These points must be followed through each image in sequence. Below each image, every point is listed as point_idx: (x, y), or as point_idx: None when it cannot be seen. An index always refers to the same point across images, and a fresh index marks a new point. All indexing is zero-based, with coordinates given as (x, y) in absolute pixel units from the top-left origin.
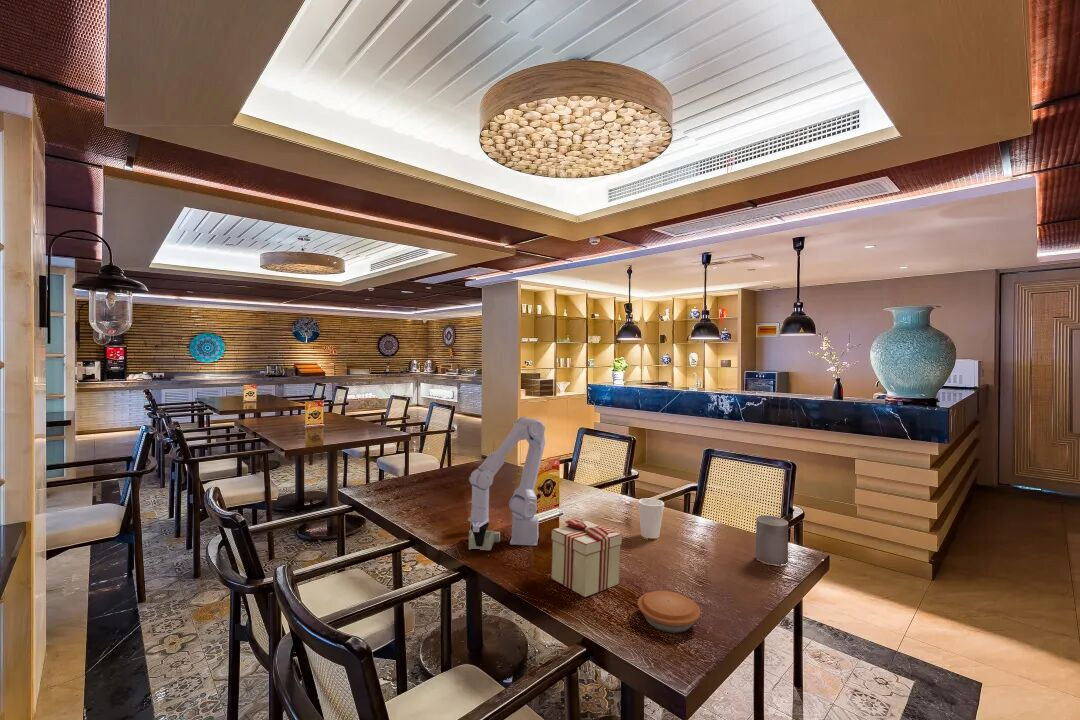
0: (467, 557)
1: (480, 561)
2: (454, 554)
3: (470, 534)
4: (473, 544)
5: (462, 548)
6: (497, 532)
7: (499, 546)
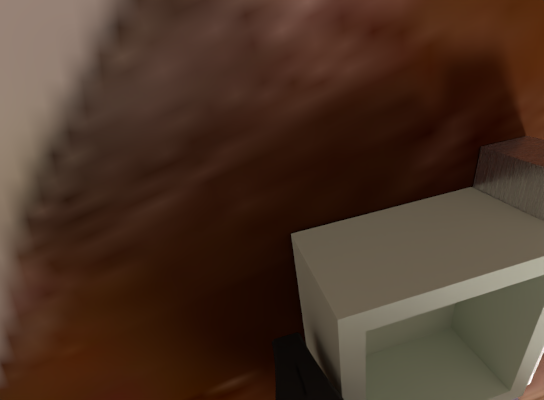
0: (125, 294)
1: (105, 393)
2: (128, 157)
3: (539, 186)
4: (310, 300)
5: (305, 168)
6: None
7: None
